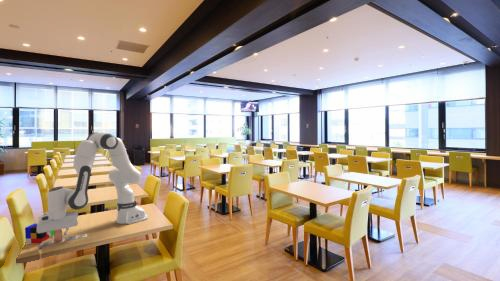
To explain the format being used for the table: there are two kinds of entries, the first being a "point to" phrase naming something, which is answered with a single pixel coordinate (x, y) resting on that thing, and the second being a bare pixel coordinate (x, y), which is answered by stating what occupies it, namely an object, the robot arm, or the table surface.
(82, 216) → the table surface
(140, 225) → the table surface
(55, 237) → the pawn
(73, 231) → the table surface
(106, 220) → the table surface
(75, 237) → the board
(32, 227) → the puzzle toy
